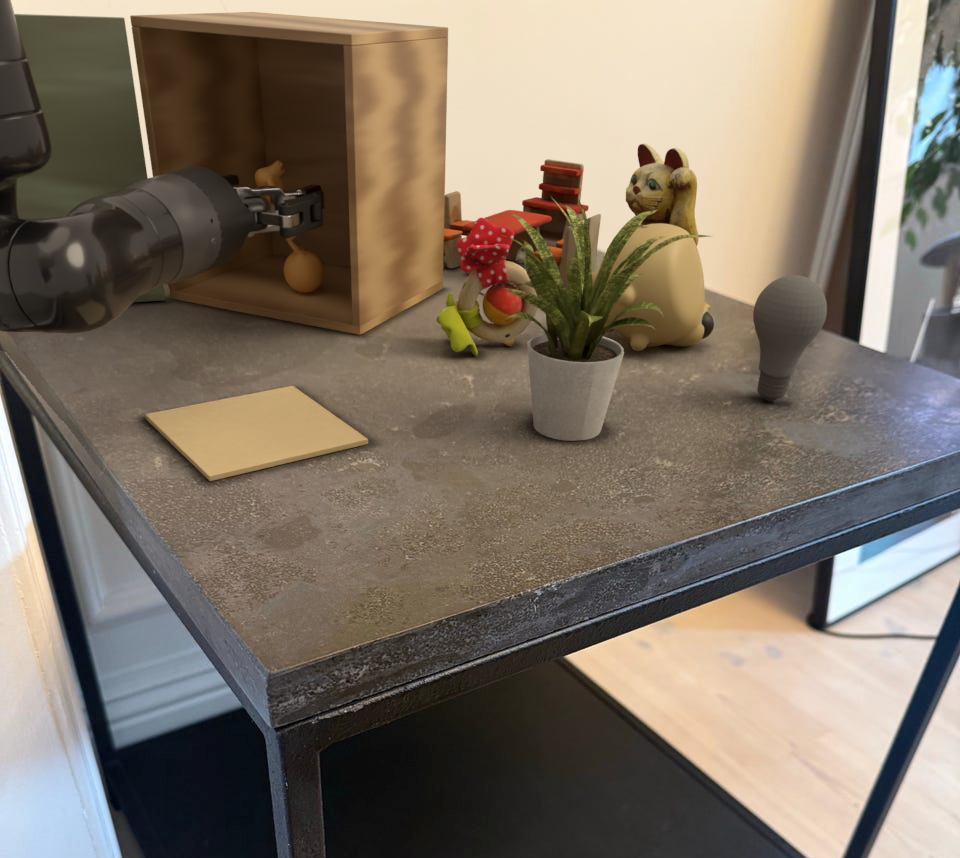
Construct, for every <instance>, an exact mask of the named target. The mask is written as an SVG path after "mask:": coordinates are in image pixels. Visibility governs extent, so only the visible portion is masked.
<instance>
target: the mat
mask: <svg viewBox="0 0 960 858" xmlns="http://www.w3.org/2000/svg"><path fill="white" fill-rule="evenodd" d="M144 415H145V420H146V421H148V423H149V424H150V425H151V426H152V427H153V428H155V430H157V431H158V432H159V433H160V434H161V436H163V438H165V439H166V441H168V442H169V443H170V444H171V445H172V446H173V447H174V448H175V449H176V450H177V451H178V452H179V453H180V454H181V455H182V456H183V457H184V458H185V459H186V460H187V461H188V462H189V463H190V464H191V465H193V467H195V468H196V470H197V471H199V472H200V473H201V475H203V476H204V477H205V478H206V479H207V480H208V481H209V482H214V481H217V480H222V479H226V478H230V477H235V476H239V475H242V474H247V473H251V472H256V471H259V470H264V469H268V468H272V467H273V468H274V467H276V466H277V467H278V466H281V465H285V464H290V463H294V462H297V461H302V460H306V459H310V458H315V457H318V456H323V455H327V454H331V453H336V452H340V451H344V450H348V449H352V448H357V447H362V446H367V445H368V444H369V438H367V437H366V436H364V435H363V434H361V433H360V432H359V431H358V430H356V429H355V428H353V427H352V426H351V425H349V424H348V423H346V422H345V421H344V420H342V419H340V418H339V417H337V415H335V414H334V413H332V412H331V411H330V410H328V409H326V408H325V407H324V406H322V405H321V404H319V403H318V402H316V401H315V400H313V399H312V398H311V397H309V395H306V393H304V392H303V391H301V390H300V389H298V388H297V387H296V386H294V385H289V386H284V387H278V388H273V389H269V390H264V391H259V392H258V391H257V392H253V393H248V394H243V395H236V396H233V397H227V398H221V399H215V400H211V401H206V402H201V403H196V404H190V405H186V406H180V407H175V408H171V409H164V410H160V411H155V412H149V413H145V414H144Z"/></svg>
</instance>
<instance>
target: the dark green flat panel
mask: <svg viewBox="0 0 960 858" xmlns="http://www.w3.org/2000/svg"><path fill="white" fill-rule="evenodd" d="M14 15H15V18H16V22H17V26H18V29H19V32H20V36H21V39H22V42H23V46H24V49H25V52H26V55H27V60H28V62H29V65H30V69H31V72H32V76H33V79H34V82H35V86H36V89H37V93H38V96H39V99H40V103H41V106H42V108H41V109H40V110H42V111H43V113H44V116H45V120H46V123H47V127H48V131H49V135H50V140H51V146H52V154H51V158H50V160H49V162H48V163H47V165H46V166H45V167H43V168H42V169H40V170H38V171H36V172H34V173H32V174H29V175H26V176H23V177H20V178H18V179H17V209H18V215H19V219H21V218H56V217H64V216H67V215H68V213H69V212H70V211H71V210H72V209H73V208H74V207H76V206H77V205H78V204H80V203H82V202H84V201H86V200H88V199H91V198H94V197H97V196H100V195H103V194H107V193H111V192H114V191H118V190H122V189H125V188H126V187H128V186H130V185H132V184H134V183H136V182H138V181H141V180H144V179H148V178H149V177H148V170H147V164H146V158H145V151H144V144H143V143H144V142H143V136H142V129H141V123H140V117H139V109H138V103H137V102H138V101H137V96H136V88H135V82H134V75H133V67H132V62H131V55H130V49H129V48H130V47H129V40H128V32H127V27H126V20H125V17H122V16H96V15H95V16H91V15H87V16H85V15H64V14H63V15H60V14H29V13H14ZM158 301H166V294H165V287H164V285H163V286H161V287H159V288H156V289H154V290H152V291H149V292H147V293H145V294H143V295H140V296H138V298H137V299H136V300H135V301H134V302H133V303H143V302H158Z"/></svg>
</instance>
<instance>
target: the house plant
mask: <svg viewBox="0 0 960 858" xmlns="http://www.w3.org/2000/svg"><path fill="white" fill-rule="evenodd" d="M552 199H553V198H552ZM553 200H554V199H553ZM554 201H555V200H554ZM578 201H579V200H578ZM555 203H556V204H557V205H558V207H559V208H560V209H561V211H562V212H563V213H564V215H565V216H566V218H567V219H568V221H569V223H570V225H571V228H572V231H573V235H574V238H575V243H576V251H575V256H574V257H572V258H571V260H570V262H569V265H568V269H567V280H568V288H569V290H568V291H567V290H566V289H565V286H564V284H563V280H562V277H561V274H560V271H559V268H558V266H557V263H556V260H555V258H554V256H553V254H552V252H551V250H550V248H549V247H548V245H547V243H546V242H545V240H544V239H543V238H542V237H541V235H540V234H539V233H538V232H537V231H536V230H535V229H534V228H533V227H532V226H531V225H530V224H529V223H528V222H527V221H525V220H524V219H523V218H521V217H519V216H517V215H515V214H512V213H511V212H510V213H511V214H512V215H513V216H514V217H515V218H517V219H518V220H519V222H520V223H521V224H522V225H523V227H524V228H525V229H526V231H527V232H528V234H529V235H530V237H531V239H532V241H533V242H534V244H535V246H536V248H537V250H538V252H539V254H540V257H541V259H542V262H543V264H544V265H543V264H542V262H541V261H540V260H539V259H538V258H537V257H536V255H535V253H534V250H533V248H532V246H531V245H530V244H529V243H527V242H526V241H524V240H523V241H524V245H523V244H522V243H520V242H518V241H516V240H514V239H512V238H510V239H512V240H514V241H516V242H517V243H519V244H520V246H521V248H522V249H523V251H524V253H525V255H524V269H525V270H526V272H527V275H528V277H529V279H530V281H528V282H525V283H523V284H525V285H528V286H530V287H532V288H534V289H535V291H536V294H537V296H538V297H537V296H535V295H532V294H530V293H527V292H524V291H521V290H518V288H519V287H520V286H521V285H523V284H517V287H518V288H517V287H516V288H517V290H516V289H509V288H504V289H505V290H507V291H508V292H510V293H513V294H516V295H518V296H520V297H521V298H523V299H524V300H525V301H527V302H528V303H530V304H531V305H533V306H535V307H537V309H538V310H539V311H541V312H543V313H544V314H545V321H546V328H545V327H544V326H542V324H541V323H540V322H539V321H538V320H537V319H536V318H535V317H532V316H531V315H529V314H527V313H525V312H516V313H514V314H512V315H510V316H509V317H508V318H510V317H512V318H522V319H527V320H531V322H534V324H536V325H538V326H539V327H540V328H541V329H542V330H543V333H538V334H537V335H535V336H532V337H530V339H529V340H528V341H527V345H526V346H527V347H526V348H527V358H528V359H527V360H528V371H529V383H530V397H531V398H530V399H531V409H532V420H533V421H532V423H533V428H534V430H535V431H536V432H538V433H539V434H540V435H542V436H544V437H547V438H550V439H554V440H559V441H566V442H567V441H569V442H570V441H572V442H573V441H574V442H575V441H586V440H592V439H594V438H596V437H597V436H599V435H600V433H601V432H602V430H603V429H602V428H603V425H604V422H605V419H606V415H607V411H608V408H609V405H610V401H611V398H612V395H613V391H614V388H615V385H616V382H617V378H618V376H619V371H620V369H621V365H622V361H623V358H624V356H625V355H624V354H625V349H624V347H623V346H622V345H621V344H620V343H619V342H618V341H615V340H614V339H612V338H610V337H607V336H604V335H605V334H606V332H607V330H608V329H610V328H614V327H618V326H625V325H646V326H649V327H652V328H654V327H653V326H652V325H651V324H650V323H649V322H648V321H647V320H644V319H641V318H636V317H631V318H624V319H621V320H618V321H616V320H617V319H618V318H620V317H621V316H622V315H624V314H625V313H627V312H630V311H633V310H637V309H645V308H647V309H654V310H658V311H659V312H660V313H661V314H662V312H661V310H660V309H659V307H658V306H657V305H655V304H654V303H651V302H640V303H636V304H634V305H631V306H629V307H627V308H626V309H624V310H623V311H622V312H620V313H619V314H618V315H617V316H616V317H615V318H614V320H613V321H612V322H611V323H610V324H609V325H607V326H606V327H604V326H605V323H606V321H607V319H608V317H609V314H610V312H611V310H612V309H613V307H614V305H615V304H616V302H617V301H618V299H619V298H620V296H621V295H622V294H623V293H624V291H625V290H626V289H627V288H628V287H629V286H630V284H631V283H632V282H633V280H634V279H635V278H637V277H639V276H641V275H643V274H644V273H641V274H635V275H632V274H633V273H634V272H635V271H636V269H637V268H638V267H639V266H640V265H641V264H642V263H643V262H644V261H645V260H646V259H648V258H649V257H650V256H651V255H652V254H653V253H655V252H656V251H658V250H660V249H661V248H663V247H665V246H666V245H668V244H671V243H673V242H675V241H677V240H681V239H684V238H695V237H698V238H708V237H709V238H710V237H713V235H707V234H706V235H705V234H698V235H694V234H692V235H680V236H676V237H673V238H670V239H667V240H665V241H663V242H662V243H660V244H658V245H656V246H655V247H654V248H653V249H651V250H650V251H649V252H648V253H647V254H646V255H645V256H643V257H641V256H642V255H643V254H644V253H645V252H646V251H647V250H648V249H649V247H650V246H651V245H652V244H653V243H654V242H655V241H657V240H659V239H662V238H663V237H654V238H651V239H649V240H647V241H646V242H644V243H642V244H639V245H638V246H637V247H636V248H635V249H634V250H633V251H632V252H631V253H630V254H629V255H628V257H626V258H625V259H624V260H623V261H622V262H621V263H620V264H619V266H618V267H617V268H616V269H615V271H614V272H613V274H612V276H611V277H610V279H609V281H608V278H609V276H610V273H611V270H612V267H613V265H614V263H615V262H616V260H617V258H618V256H619V254H620V252H621V251H622V249H623V247H624V245H625V244H626V243H627V241H628V240H629V238H630V237H631V235H632V234H633V233H634V232H635V231H636V229H638V228H647V227H643V226H640V224H641V223H642V221H643V220H644V219H645V218H646V217H647V216H649V215H651V214H653V213H654V212H656V211H657V210H652V211H647V212H643V213H641V214H638V215H636V216H633V217H632V218H631V219H629V220H628V221H627V222H626V223H625V224H624V225H623V226H622V227H621V228H620V230H619V231H618V232H617V233H616V235H615V236H614V237H613V239H612V240H611V242H610V243H609V245H608V247H607V249H606V251H605V254H604V256H605V257H604V256H603V258H604V260H603V259H602V260H603V263H602V265H601V264H600V265H601V268H600V267H599V268H600V270H599V273H598V275H597V277H596V280H595V283H594V285H593V288H592V271H591V243H590V236H589V227H588V221H587V219H588V217H587V213H586V211H584V208H583V206H582V205H583V204H582V203H581V200H580V201H579V203H580V206H581V209H582V213H583V217H584V221H583V220H582V219H581V218H580V217H579V216H578V215H577V214H576V212H575V211H574V210H573V209H572V208H570V207H568V206H567V205H566V208H567V212H568V214H569V216H570V219H571V220H570V219H569V217H568V216H567V214H566V213H565V212H564V210H563V209H562V208H561V207H560V206H559V204H558V203H557V202H556V201H555ZM581 204H582V205H581ZM502 236H504V235H502ZM505 237H507V236H505ZM508 238H509V237H508ZM627 261H628V262H627ZM626 262H627V263H626ZM625 263H626V265H625V266H624V264H625ZM623 266H624V268H623V270H622V271H621V272H619V270H620V269H621V268H622V267H623ZM618 272H619V273H618ZM617 273H618V274H617ZM631 275H632V276H631ZM607 281H608V283H607ZM606 283H607V285H606ZM662 315H663V314H662ZM508 318H507V319H508Z"/></svg>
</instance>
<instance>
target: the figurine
mask: <svg viewBox="0 0 960 858" xmlns="http://www.w3.org/2000/svg"><path fill="white" fill-rule="evenodd" d="M282 166H283V164H282V162H280V161H275V162H274V163H273V164H272V165H270V166H269V167H265V168H261V169H259V170H257V172H256V173H255V182H256V184H257V186H258V187H260V186H275V187H278V188H280V189H281V190H282V191H284V186H283V182H282V179H281V175H282V174H283V173H284V171H285V169H284V168H283V169H281V167H282ZM264 197H265V198H266V199H267V200H268V202H269V205H270V196H269V195H267V196H264ZM270 207H271V205H270ZM294 238H295V236H294V237H290V238H285V239H286V241H287V242H288V243H289V245H290V246H291V248H292V249H293V253H292V254H291V255H289V257H288V258H287V259H286V261H285V264H284V276H285V279H286V281H287V283H288V284H289V285H290V286H291V287H292V288H293V289H294V290H296V291H298V292H302V293H309V292H312V291H314V290H316V289H317V288H318V287H319V286H320V285H321V283H322V281H323V278H324V267H323V264H322V262H321V260H320V259H319V258H318V257H317V256H316V255H315V254H314V253H312V252H310V251H307V250H304V249H303V248H302V247H299V246H297V245H296V244H295V243H294V242H293V241H292V240H293V239H294Z"/></svg>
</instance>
